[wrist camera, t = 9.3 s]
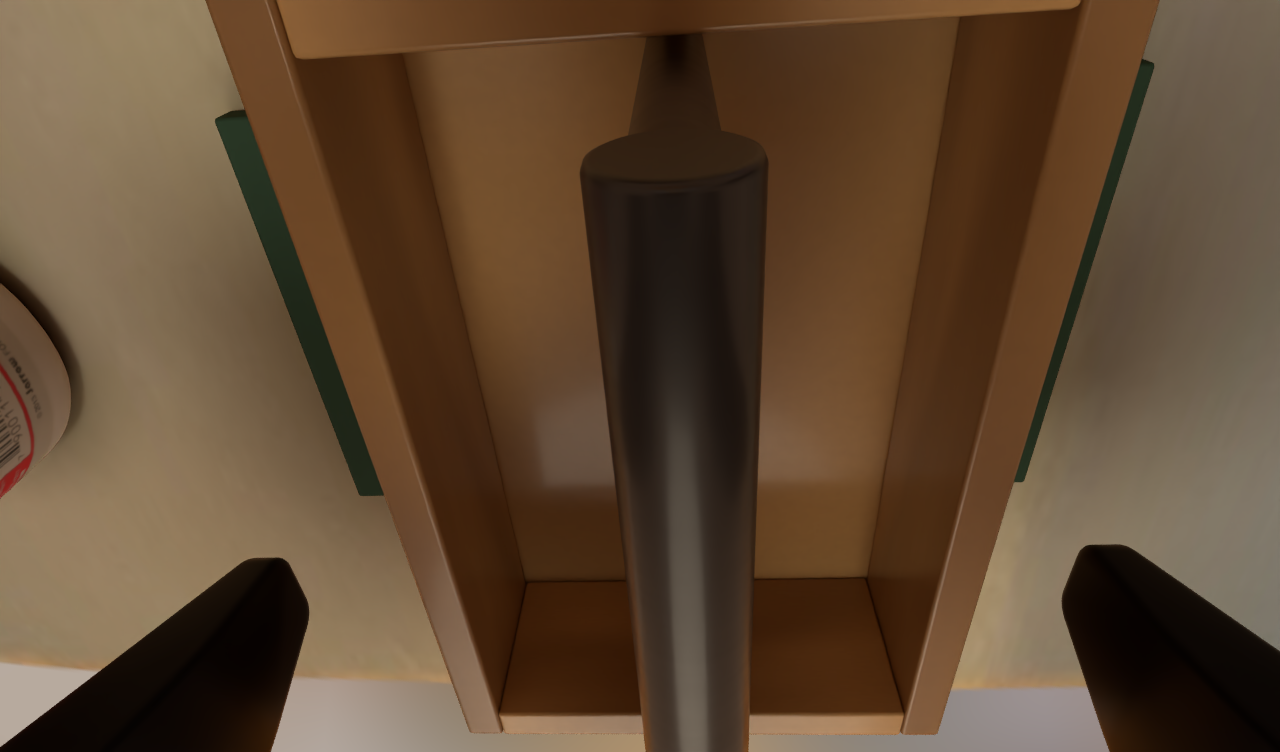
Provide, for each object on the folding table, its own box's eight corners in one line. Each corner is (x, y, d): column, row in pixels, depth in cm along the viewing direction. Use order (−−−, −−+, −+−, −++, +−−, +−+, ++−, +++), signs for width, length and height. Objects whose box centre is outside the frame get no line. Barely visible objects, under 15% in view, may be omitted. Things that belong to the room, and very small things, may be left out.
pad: (1138, 56, 11) (1158, 62, 10) (1015, 467, 15) (1024, 483, 15) (228, 111, 11) (211, 118, 11) (366, 481, 16) (358, 497, 16)
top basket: (1021, -93, 9) (1668, -64, 3) (890, 582, 16) (1014, 976, 10) (342, -42, 10) (-175, 60, 4) (504, 587, 17) (413, 962, 11)
